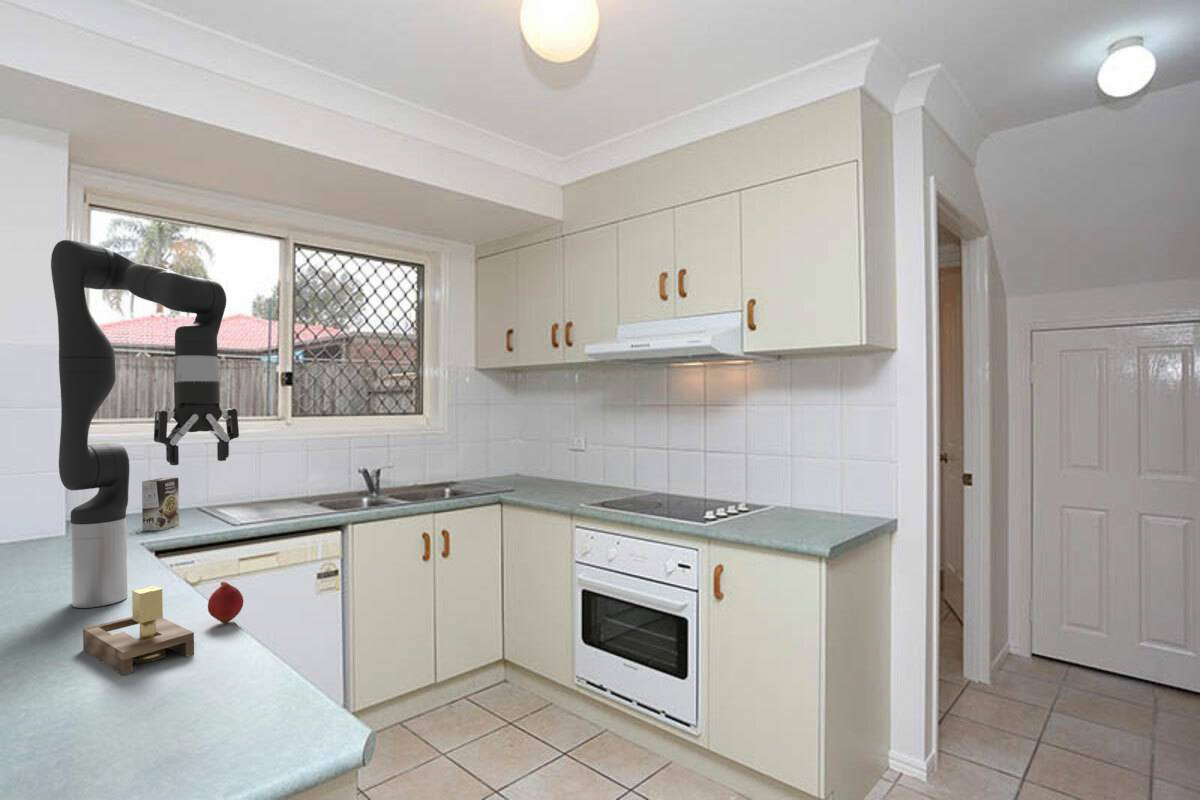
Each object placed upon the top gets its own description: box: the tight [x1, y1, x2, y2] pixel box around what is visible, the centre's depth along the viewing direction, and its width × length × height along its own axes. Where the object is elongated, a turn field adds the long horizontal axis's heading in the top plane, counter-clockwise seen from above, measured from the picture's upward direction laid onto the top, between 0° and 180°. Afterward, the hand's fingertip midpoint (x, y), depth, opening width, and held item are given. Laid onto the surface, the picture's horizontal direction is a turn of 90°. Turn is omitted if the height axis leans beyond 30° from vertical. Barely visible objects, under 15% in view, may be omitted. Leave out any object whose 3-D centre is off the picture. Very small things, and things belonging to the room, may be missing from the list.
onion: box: [207, 580, 244, 624], centre depth 122 cm, size 6×6×8 cm
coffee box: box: [141, 477, 180, 532], centre depth 212 cm, size 9×6×16 cm
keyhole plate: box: [82, 615, 195, 676], centre depth 109 cm, size 18×10×4 cm, turn 54°
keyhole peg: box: [131, 585, 167, 664], centre depth 106 cm, size 5×5×11 cm
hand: (198, 462), depth 126 cm, fingers open, 8 cm apart
